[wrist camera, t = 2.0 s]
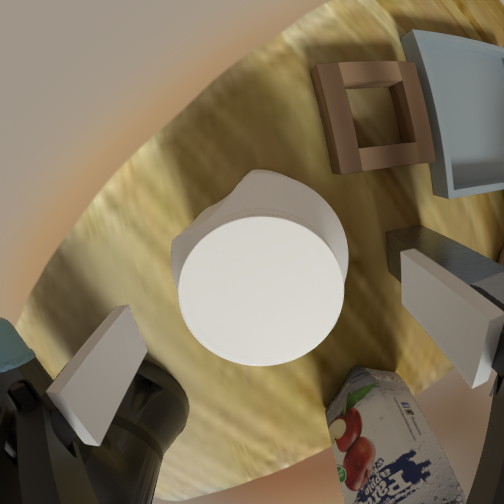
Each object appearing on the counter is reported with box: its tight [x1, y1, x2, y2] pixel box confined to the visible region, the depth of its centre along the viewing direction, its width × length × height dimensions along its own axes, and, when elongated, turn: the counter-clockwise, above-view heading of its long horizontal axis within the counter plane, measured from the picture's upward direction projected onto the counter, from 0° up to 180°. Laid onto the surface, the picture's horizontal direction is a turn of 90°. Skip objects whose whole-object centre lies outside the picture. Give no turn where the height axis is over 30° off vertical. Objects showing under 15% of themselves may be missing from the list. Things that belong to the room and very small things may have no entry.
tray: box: [400, 29, 504, 199], centre depth 22 cm, size 18×18×3 cm
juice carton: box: [325, 366, 467, 504], centre depth 22 cm, size 9×10×27 cm
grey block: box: [386, 225, 504, 304], centre depth 22 cm, size 4×4×14 cm
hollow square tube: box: [310, 61, 436, 175], centre depth 24 cm, size 10×10×3 cm
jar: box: [171, 170, 348, 366], centre depth 21 cm, size 12×10×15 cm
